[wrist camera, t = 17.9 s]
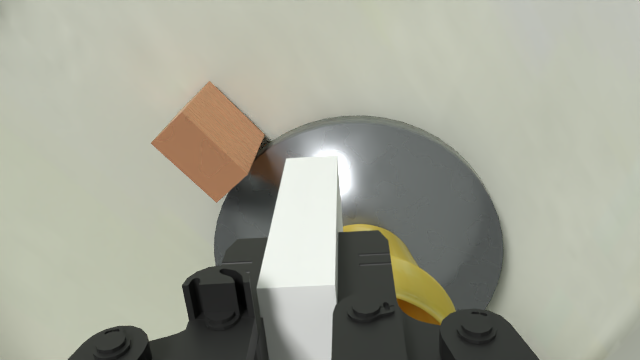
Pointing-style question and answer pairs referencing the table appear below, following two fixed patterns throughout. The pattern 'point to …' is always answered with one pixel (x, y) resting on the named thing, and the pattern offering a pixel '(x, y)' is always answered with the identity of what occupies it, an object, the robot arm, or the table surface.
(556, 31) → the table surface
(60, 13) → the table surface
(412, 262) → the plant pot
